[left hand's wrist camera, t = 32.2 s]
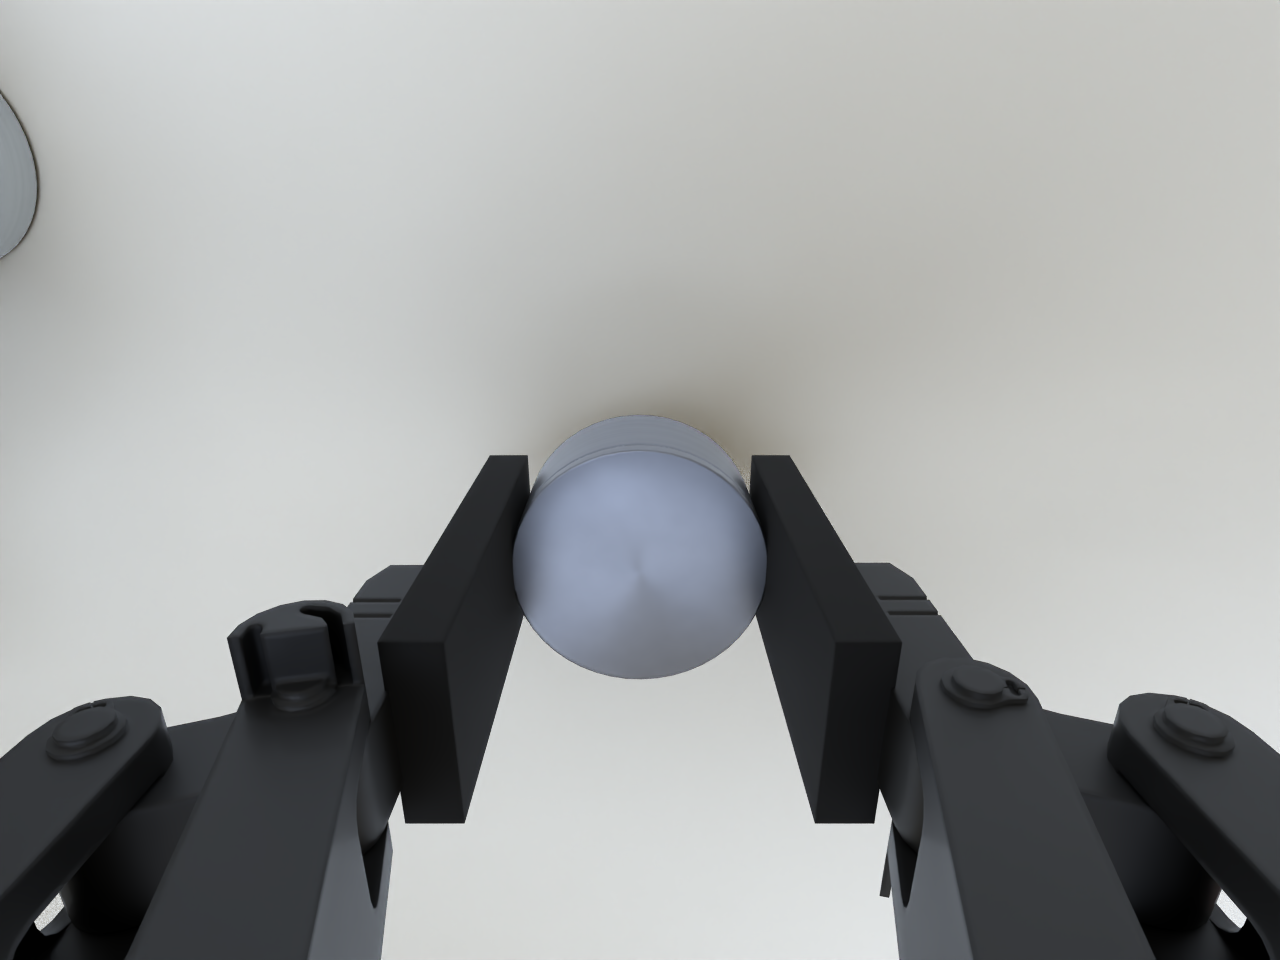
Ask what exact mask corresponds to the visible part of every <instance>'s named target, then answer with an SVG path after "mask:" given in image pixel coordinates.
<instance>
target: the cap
mask: <svg viewBox="0 0 1280 960" xmlns="http://www.w3.org/2000/svg"><path fill="white" fill-rule="evenodd" d="M767 553H768V551H767V543H766V538H765V535H764V532H763V529H762V526H761V523H760V521H759V518H758V515H757V513H756V510H755V508H754V505H753V503H752V500H751V498H750V495H749V492H748V490H747V487H746V485H745V482H744V480H743V478H742V476H741V474H740V472H739V470H738V468H737V467H736V465H735V464H734V462H733V461H732V459H731V458H730V457H729V455H728V454H727V453H726V452H725V451H724V450H723V449H722V448H721V447H720V446H719V445H718V444H717V443H716V442H714V441H713V440H712V439H711V438H710V437H708V436H707V435H705V434H703V433H702V432H700V431H699V430H697V429H695V428H693V427H691V426H689V425H687V424H684V423H682V422H679V421H675V420H672V419H669V418H664V417H658V416H651V415H630V416H620V417H616V418H611V419H607V420H604V421H601V422H598V423H595V424H592V425H590V426H588V427H586V428H584V429H582V430H580V431H579V432H577V433H576V434H574V435H573V436H571V437H570V438H568V439H567V440H566V441H565V442H564V443H563V444H561V445H560V446H559V447H558V448H557V449H556V450H555V451H554V452H553V454H552V455H551V456H550V457H549V458H548V459H547V461H546V462H545V464H544V466H543V467H542V469H541V470H540V472H539V474H538V476H537V479H536V481H535V483H534V485H533V488H532V491H531V493H530V496H529V499H528V501H527V504H526V506H525V509H524V512H523V514H522V517H521V520H520V522H519V525H518V528H517V531H516V534H515V538H514V541H513V547H512V563H513V577H514V589H515V594H516V597H517V600H518V603H519V605H520V607H521V609H522V611H523V614H524V616H525V617H526V619H527V620H528V622H529V623H530V625H531V626H532V628H533V629H534V630H535V632H536V633H537V634H538V635H539V636H540V637H541V639H542V640H543V641H544V642H545V643H547V644H548V645H549V646H550V647H551V648H552V649H553V650H554V651H556V652H557V653H559V654H560V655H562V656H563V657H565V658H566V659H568V660H569V661H571V662H573V663H575V664H577V665H579V666H581V667H583V668H586V669H588V670H591V671H593V672H596V673H600V674H604V675H608V676H612V677H619V678H625V679H652V678H661V677H666V676H672V675H676V674H679V673H682V672H686V671H689V670H691V669H693V668H696V667H698V666H701V665H703V664H704V663H706V662H708V661H710V660H712V659H713V658H715V657H717V656H718V655H719V654H721V653H722V652H723V651H725V650H726V649H727V648H729V647H730V646H731V645H732V644H733V643H734V642H735V641H736V640H737V639H738V638H739V637H740V636H741V634H742V633H743V632H744V631H745V630H746V628H747V627H748V626H749V624H750V623H751V621H752V619H753V618H754V616H755V615H756V613H757V611H758V608H759V606H760V604H761V602H762V599H763V596H764V592H765V582H766V568H767Z"/></svg>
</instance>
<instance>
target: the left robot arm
mask: <svg viewBox="0 0 1280 960" xmlns="http://www.w3.org/2000/svg"><path fill="white" fill-rule="evenodd" d="M749 495H750V498H751V500H752V503H753V505H754V508H755V510H756V513H757V515H758V518H759V521H760V523H761V526H762V529H763V532H764V535H765V538H766V543H767V551H768V553H767V568H766V582H765V592H764V596H763V599H762V602H761V604H760V606H759V608H758V611H757V613H756V617H757V621H758V624H759V628H760V631H761V635H762V639H763V642H764V646H765V649H766V653H767V656H768V660H769V663H770V667H771V670H772V674H773V677H774V681H775V684H776V688H777V691H778V695H779V698H780V702H781V705H782V709H783V712H784V716H785V719H786V723H787V726H788V730H789V734H790V737H791V741H792V744H793V748H794V751H795V755H796V758H797V762H798V765H799V769H800V772H801V776H802V779H803V783H804V786H805V790H806V793H807V797H808V800H809V804H810V807H811V811H812V814H813V818H814V821H815V823H874V821H875V815H876V808H877V802H878V796H879V789H880V791H881V793H882V795H883V798H884V800H885V803H886V805H887V807H888V810H889V812H890V815H891V817H892V824H891V830H890V836H889V842H888V848H887V854H886V860H885V865H884V871H883V877H882V884H881V890H880V896H883V897H888V898H889V895H890V890H891V888H892V897H893V906H894V915H895V924H896V933H897V942H898V951H899V960H1280V754H1279V753H1277V752H1276V751H1275V750H1274V749H1273V748H1271V747H1270V746H1269V745H1268V744H1267V743H1266V742H1264V741H1263V740H1262V739H1261V738H1260V737H1258V736H1257V735H1256V734H1255V733H1254V732H1252V731H1251V730H1249V729H1248V728H1246V727H1245V726H1243V725H1242V724H1241V723H1239V722H1238V721H1236V720H1235V719H1233V718H1232V717H1230V716H1228V715H1226V714H1224V713H1222V712H1220V711H1217V710H1215V709H1213V708H1211V707H1209V706H1207V705H1206V704H1204V703H1201V702H1198V701H1195V700H1192V699H1190V700H1188V699H1187V698H1184V697H1180V696H1175V695H1165V694H1156V693H1144V694H1138V695H1132V696H1129V697H1128V698H1127V699H1125V700H1124V701H1123V702H1122V703H1120V704H1119V708H1118V711H1117V714H1116V718H1115V721H1114V724H1108V723H1103V722H1098V721H1093V720H1089V719H1084V718H1079V717H1074V716H1069V715H1064V714H1059V713H1056V712H1052V711H1048V710H1044V709H1042V707H1041V704H1040V702H1039V700H1038V698H1037V697H1036V696H1035V694H1034V693H1033V692H1032V691H1031V689H1030V688H1029V687H1028V685H1027V684H1025V683H1024V682H1022V681H1021V680H1020V679H1018V678H1017V677H1015V676H1014V675H1012V674H1011V673H1010V672H1007V671H1005V670H1003V669H1000V668H998V667H996V666H993V665H991V664H989V663H985V662H981V661H977V660H973V659H972V657H971V656H970V654H969V653H968V652H967V650H966V649H965V648H964V646H963V645H962V644H961V642H960V641H959V640H958V638H957V637H956V636H955V634H954V633H953V631H952V630H951V629H950V627H949V626H948V625H947V623H946V622H945V621H944V619H943V618H942V617H941V615H938V611H937V610H936V608H935V607H934V606H933V604H932V603H931V602H930V600H927V596H926V595H925V594H924V592H923V591H922V589H921V588H920V587H919V585H918V584H917V583H916V581H915V580H914V579H913V578H912V577H910V576H909V575H907V574H906V573H904V572H903V571H901V570H899V569H898V568H896V567H895V566H893V565H892V564H890V563H854V561H853V560H852V558H851V556H850V555H849V553H848V551H847V550H846V548H845V547H844V545H843V543H842V542H841V540H840V538H839V537H838V535H837V533H836V532H835V530H834V528H833V527H832V525H831V523H830V522H829V520H828V518H827V517H826V515H825V513H824V512H823V510H822V508H821V507H820V505H819V503H818V502H817V500H816V499H815V497H814V495H813V494H812V492H811V490H810V489H809V487H808V485H807V484H806V482H805V480H804V479H803V477H802V475H801V474H800V472H799V470H798V469H797V467H796V465H795V464H794V462H793V460H792V459H791V457H790V455H752V460H751V477H750V493H749ZM529 496H530V485H529V468H528V455H490V456H489V458H488V460H487V461H486V463H485V465H484V466H483V468H482V470H481V471H480V473H479V475H478V476H477V478H476V479H475V481H474V483H473V484H472V486H471V488H470V489H469V491H468V493H467V494H466V496H465V498H464V499H463V501H462V503H461V504H460V506H459V508H458V509H457V511H456V513H455V514H454V516H453V518H452V519H451V521H450V522H449V524H448V526H447V527H446V529H445V531H444V532H443V534H442V536H441V537H440V539H439V541H438V542H437V544H436V546H435V547H434V549H433V551H432V552H431V554H430V556H429V557H428V559H427V561H426V562H425V564H424V565H390V566H389V567H387V568H385V569H384V570H382V571H381V572H379V573H378V574H376V575H375V576H373V577H372V578H370V579H368V580H367V581H366V582H365V583H364V585H363V586H362V588H361V589H360V590H359V592H358V593H357V594H356V596H355V597H354V598H353V602H351V603H350V604H349V605H348V607H346V606H344V605H343V604H340V603H335V602H331V601H327V600H313V601H300V602H295V603H289V604H284V605H280V606H277V607H274V608H272V609H269V610H266V611H263V612H261V613H258V614H256V615H255V616H253V617H251V618H250V619H248V620H246V621H245V622H243V623H241V624H240V625H238V626H237V627H236V629H235V630H234V631H233V632H232V633H231V634H230V635H229V636H228V637H227V640H228V644H229V649H230V653H231V657H232V661H233V665H234V669H235V673H236V677H237V681H238V685H239V689H240V693H241V698H242V701H241V704H240V706H239V708H238V710H237V712H236V713H232V714H228V715H225V716H221V717H216V718H212V719H207V720H202V721H197V722H192V723H187V724H182V725H177V726H172V727H166V723H165V720H164V716H163V713H162V710H161V707H160V706H158V705H157V704H156V703H155V702H153V701H152V700H151V699H147V698H141V697H134V696H127V697H118V698H108V699H102V700H98V701H94V702H93V703H87V704H84V705H81V706H78V707H75V708H74V709H72V710H70V711H68V712H66V713H64V714H62V715H60V716H57V717H55V718H53V719H51V720H49V721H48V722H46V723H45V724H44V725H42V726H41V727H39V728H38V729H36V730H35V731H33V732H32V733H30V734H29V735H27V736H26V737H25V738H24V739H23V740H22V741H20V742H19V743H18V744H17V745H16V746H14V747H13V748H12V749H11V750H10V751H9V752H7V753H6V754H5V755H4V756H3V757H2V758H0V960H381V952H382V943H383V934H384V925H385V916H386V907H387V898H388V889H389V880H390V871H391V862H392V853H393V849H392V842H391V836H390V830H389V824H388V820H389V817H390V815H391V812H392V810H393V807H394V805H395V803H396V800H397V798H398V795H399V793H400V792H401V799H402V805H403V811H404V818H405V823H465V820H466V816H467V813H468V809H469V806H470V802H471V799H472V795H473V792H474V788H475V785H476V781H477V778H478V774H479V771H480V767H481V763H482V760H483V756H484V753H485V749H486V746H487V742H488V739H489V735H490V732H491V728H492V725H493V721H494V718H495V714H496V711H497V707H498V704H499V700H500V697H501V693H502V690H503V686H504V683H505V679H506V676H507V672H508V669H509V665H510V661H511V658H512V654H513V651H514V647H515V644H516V640H517V637H518V633H519V630H520V626H521V623H522V619H523V616H524V614H523V611H522V609H521V607H520V605H519V603H518V600H517V597H516V594H515V589H514V577H513V563H512V547H513V541H514V538H515V534H516V531H517V528H518V525H519V522H520V520H521V517H522V514H523V512H524V509H525V506H526V504H527V501H528V499H529ZM1221 890H1223V891H1224V892H1225V893H1226V894H1227V895H1228V896H1229V898H1230V899H1231V900H1232V901H1233V902H1234V903H1235V905H1236V906H1237V907H1238V908H1239V909H1240V910H1241V911H1242V913H1243V914H1244V915H1245V916H1246V917H1247V919H1246V921H1245V924H1244V926H1243V927H1242V928H1239V927H1238V926H1237V925H1236V924H1234V923H1233V922H1232V921H1231V920H1230V919H1229V918H1228V917H1227V916H1226V914H1225V913H1224V912H1223V911H1222V910H1221V909H1220V907H1219V906H1218V905H1217V904H1216V902H1217V900H1218V897H1219V895H1220V892H1221ZM58 893H59V894H60V896H61V899H62V901H63V904H64V907H63V909H62V910H61V911H60V912H59V913H58V915H57V916H56V917H55V918H54V919H53V920H52V921H51V922H50V923H49V924H48V925H47V926H46V927H44V928H43V929H42V930H41V931H39V930H38V929H37V928H36V925H35V923H34V921H35V920H36V919H37V917H38V916H39V915H40V914H41V913H42V912H43V910H44V909H45V908H46V907H47V906H48V905H49V903H50V902H51V901H52V900H53V899H54V898H55V896H56V895H57V894H58Z"/></svg>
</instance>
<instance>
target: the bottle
mask: <svg viewBox="0 0 1280 960" xmlns="http://www.w3.org/2000/svg"><path fill="white" fill-rule="evenodd" d="M36 200H37V178H36V169H35V164H34V160H33V156H32V152H31V149H30V146H29V143H28V141H27V138H26V136H25V133H24V131H23V129H22V127H21V125H20V123H19V121H18V119H17V118H16V116H15V114H14V113H13V111H12V109H11V107H10V106H9V105H8V103H7V102H6V101H5V99H4V98H3V96H2V95H1V94H0V258H1V257H3V256H4V255H6V254H8V253H9V252H10V251H11V250H12V249H13V248H14V247H15V246H16V245H17V244H18V243H19V242H20V241H21V239H22V238H23V237H24V235H25V234H26V232H27V230H28V228H29V226H30V224H31V221H32V218H33V215H34V212H35V206H36Z"/></svg>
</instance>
